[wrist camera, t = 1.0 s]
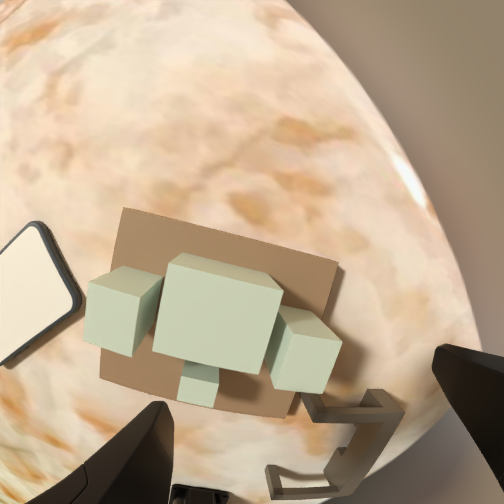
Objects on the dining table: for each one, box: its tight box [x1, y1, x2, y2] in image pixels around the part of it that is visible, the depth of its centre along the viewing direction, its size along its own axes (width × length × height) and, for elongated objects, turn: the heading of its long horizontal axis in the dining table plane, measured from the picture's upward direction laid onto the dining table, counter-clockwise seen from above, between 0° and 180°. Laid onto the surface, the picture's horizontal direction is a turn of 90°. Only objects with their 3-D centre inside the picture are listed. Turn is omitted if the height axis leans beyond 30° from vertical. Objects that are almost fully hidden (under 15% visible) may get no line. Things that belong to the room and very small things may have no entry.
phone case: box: [0, 221, 82, 366], centre depth 19 cm, size 9×2×16 cm
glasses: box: [265, 389, 405, 500], centre depth 22 cm, size 9×12×4 cm
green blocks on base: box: [83, 207, 343, 419], centre depth 18 cm, size 14×16×8 cm
